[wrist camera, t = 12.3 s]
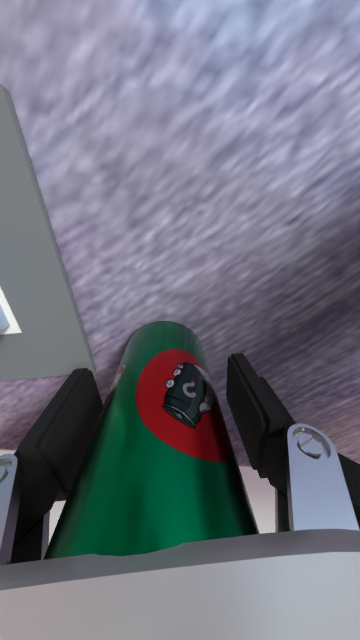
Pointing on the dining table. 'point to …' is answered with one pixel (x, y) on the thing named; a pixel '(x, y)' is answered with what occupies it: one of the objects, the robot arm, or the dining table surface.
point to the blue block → (3, 320)
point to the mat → (32, 272)
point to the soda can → (155, 458)
